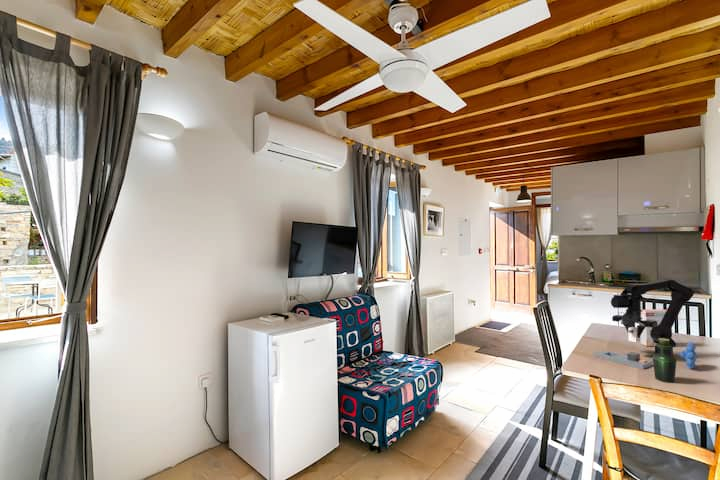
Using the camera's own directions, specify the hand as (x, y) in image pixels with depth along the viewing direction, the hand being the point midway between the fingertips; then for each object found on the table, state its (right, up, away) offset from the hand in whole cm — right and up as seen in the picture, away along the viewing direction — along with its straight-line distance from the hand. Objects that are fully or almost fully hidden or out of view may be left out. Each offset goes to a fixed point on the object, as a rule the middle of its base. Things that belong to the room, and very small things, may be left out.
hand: (634, 337), depth 190 cm
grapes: (+13, -10, -17) cm, 24 cm away
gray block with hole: (-11, -11, -6) cm, 17 cm away
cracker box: (+27, -10, +18) cm, 34 cm away
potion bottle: (-11, -11, -31) cm, 35 cm away
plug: (0, -2, 0) cm, 2 cm away
